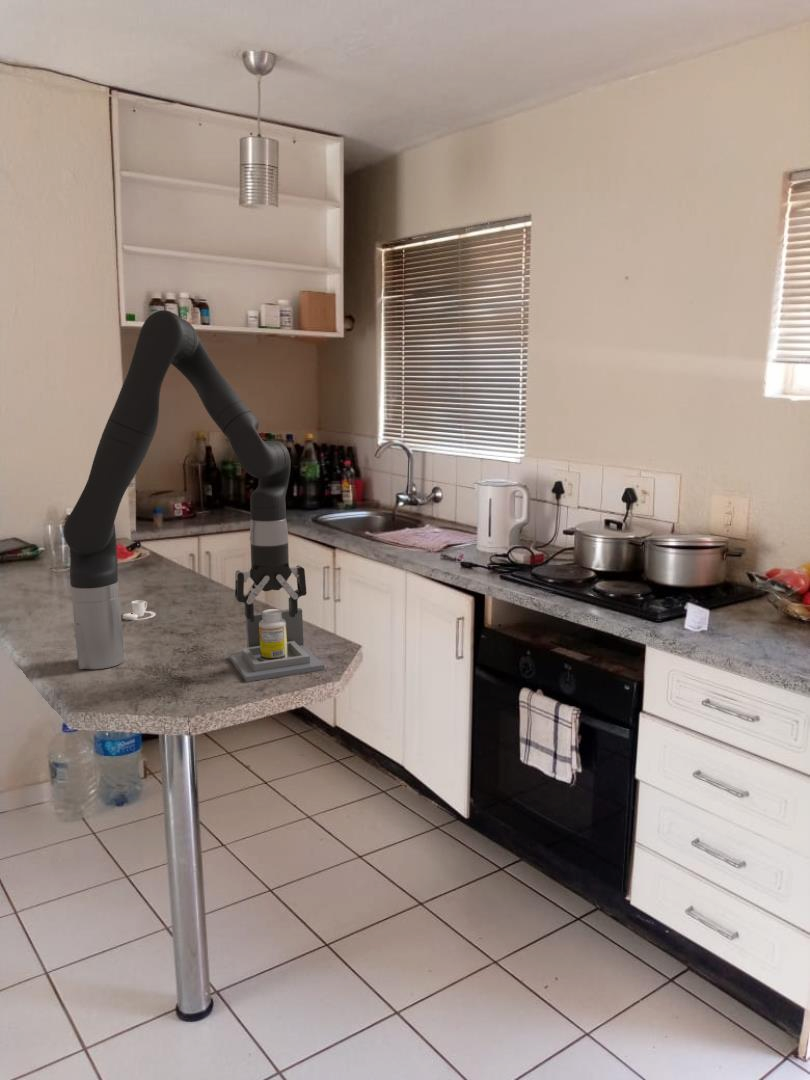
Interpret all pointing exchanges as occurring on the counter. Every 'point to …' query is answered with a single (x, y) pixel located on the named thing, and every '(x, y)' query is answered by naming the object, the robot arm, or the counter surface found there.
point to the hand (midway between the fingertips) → (271, 618)
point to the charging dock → (293, 664)
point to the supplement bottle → (272, 635)
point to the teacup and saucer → (138, 611)
